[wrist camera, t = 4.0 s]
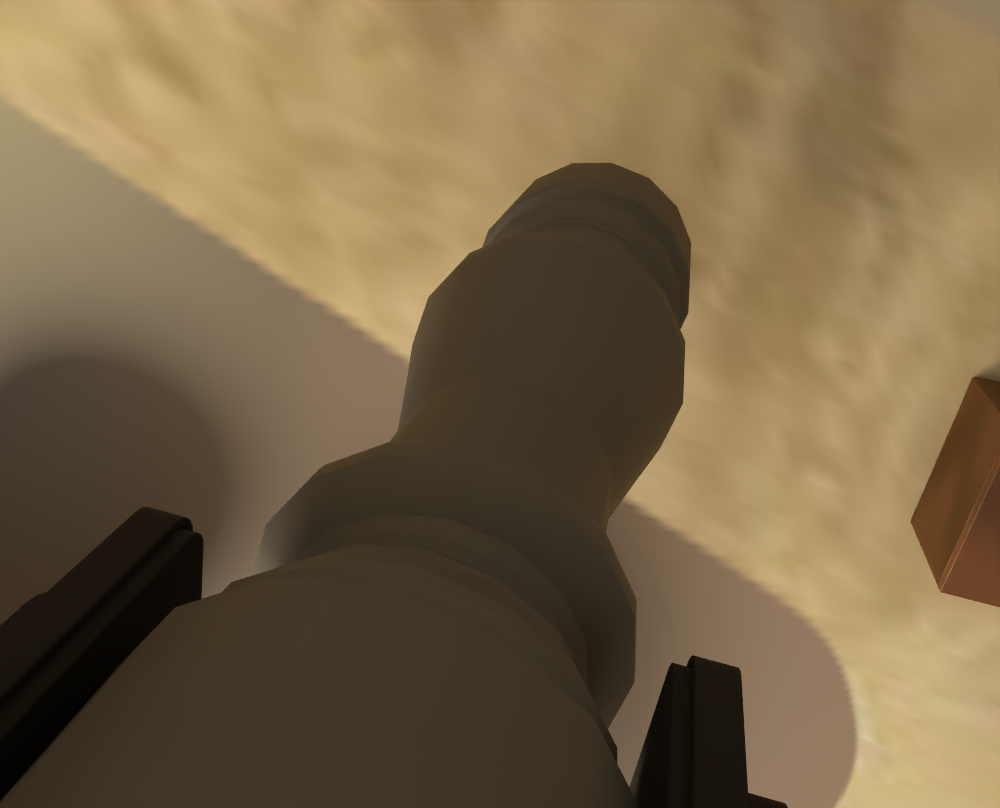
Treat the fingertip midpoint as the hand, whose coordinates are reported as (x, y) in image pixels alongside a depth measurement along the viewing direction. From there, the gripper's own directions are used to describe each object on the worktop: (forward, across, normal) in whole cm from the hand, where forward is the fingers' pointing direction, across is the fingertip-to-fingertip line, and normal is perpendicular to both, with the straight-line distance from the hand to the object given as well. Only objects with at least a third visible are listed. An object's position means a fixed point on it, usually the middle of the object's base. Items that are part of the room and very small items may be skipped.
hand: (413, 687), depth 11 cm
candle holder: (+20, 0, 0) cm, 20 cm away
